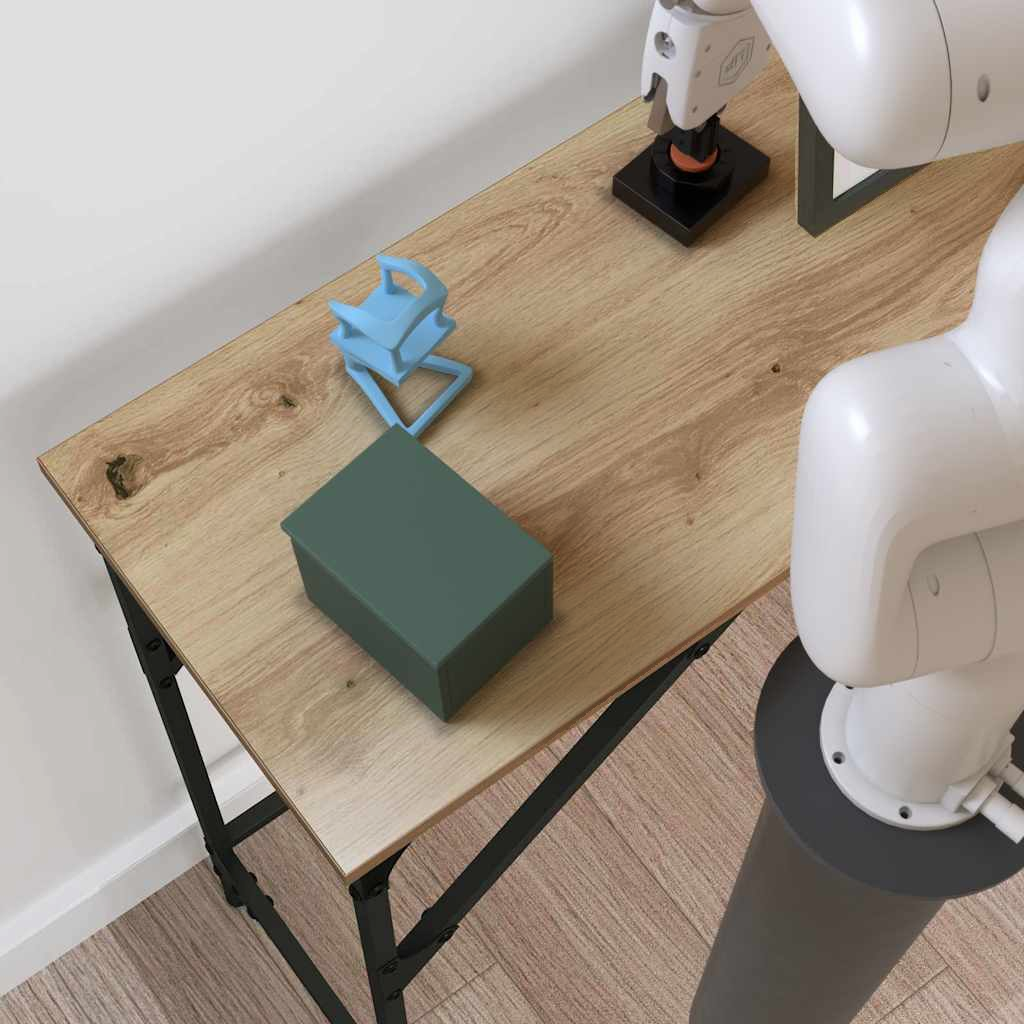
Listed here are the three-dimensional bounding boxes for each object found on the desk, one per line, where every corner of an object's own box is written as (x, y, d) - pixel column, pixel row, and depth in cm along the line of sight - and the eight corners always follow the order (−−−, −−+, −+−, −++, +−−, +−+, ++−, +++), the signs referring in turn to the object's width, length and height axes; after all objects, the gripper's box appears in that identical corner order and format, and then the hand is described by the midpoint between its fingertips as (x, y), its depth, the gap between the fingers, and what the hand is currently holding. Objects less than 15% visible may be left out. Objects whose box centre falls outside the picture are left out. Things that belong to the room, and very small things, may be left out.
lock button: (724, 164, 128) (726, 149, 126) (694, 189, 127) (696, 175, 125) (689, 140, 129) (691, 125, 128) (660, 165, 128) (661, 150, 126)
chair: (391, 322, 124) (376, 222, 114) (475, 377, 121) (468, 279, 111) (324, 389, 121) (303, 292, 111) (409, 447, 119) (396, 353, 108)
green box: (307, 598, 113) (289, 539, 105) (415, 501, 116) (406, 437, 109) (445, 723, 108) (437, 671, 100) (553, 619, 112) (553, 560, 104)
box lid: (280, 528, 105) (278, 523, 104) (397, 427, 109) (396, 421, 108) (437, 670, 100) (436, 665, 100) (553, 560, 104) (554, 554, 103)
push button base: (768, 176, 130) (774, 142, 127) (686, 248, 127) (690, 215, 123) (692, 125, 133) (696, 90, 130) (611, 194, 130) (613, 160, 126)
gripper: (685, 53, 107) (666, 229, 123) (826, -65, 112) (791, 120, 128) (600, -3, 109) (593, 177, 125) (742, -115, 114) (718, 72, 130)
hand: (693, 148), depth 126 cm, fingers closed
